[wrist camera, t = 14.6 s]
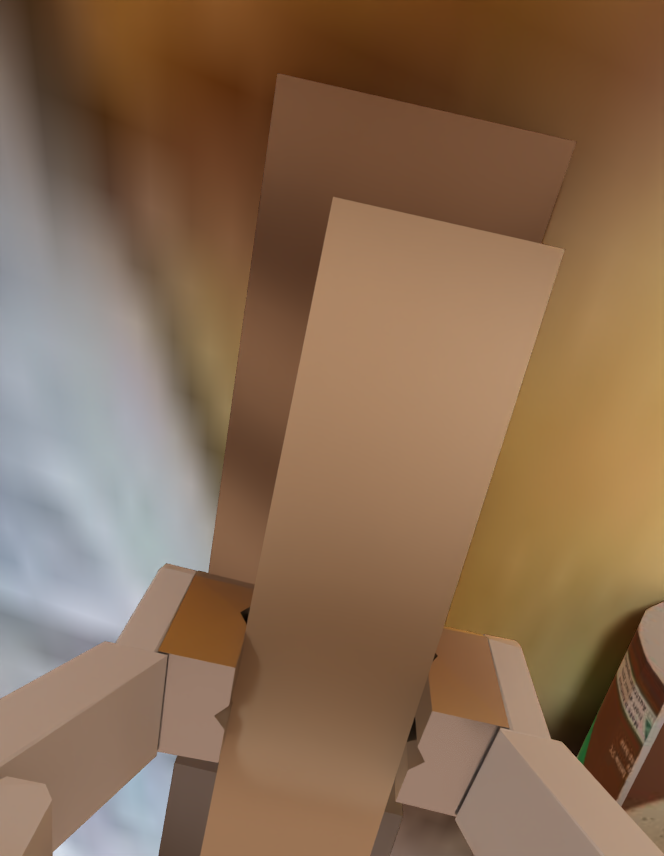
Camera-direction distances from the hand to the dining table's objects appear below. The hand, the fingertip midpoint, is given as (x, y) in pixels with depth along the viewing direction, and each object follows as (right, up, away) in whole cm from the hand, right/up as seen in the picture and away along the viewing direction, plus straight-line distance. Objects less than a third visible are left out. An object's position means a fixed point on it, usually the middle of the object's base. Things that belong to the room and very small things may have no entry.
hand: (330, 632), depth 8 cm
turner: (0, -1, +2) cm, 3 cm away
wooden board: (0, +2, +9) cm, 9 cm away
